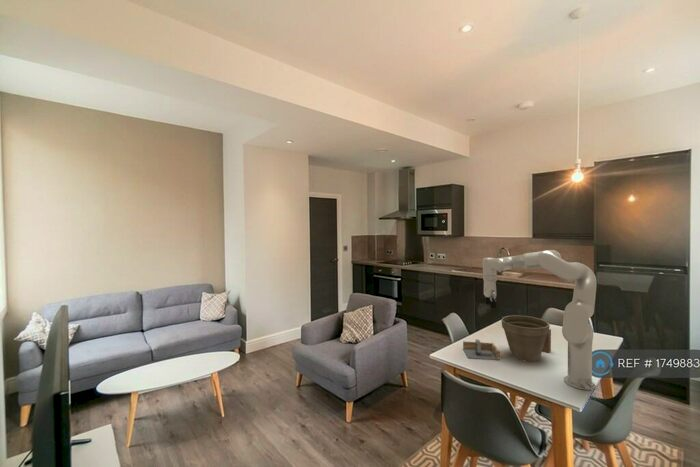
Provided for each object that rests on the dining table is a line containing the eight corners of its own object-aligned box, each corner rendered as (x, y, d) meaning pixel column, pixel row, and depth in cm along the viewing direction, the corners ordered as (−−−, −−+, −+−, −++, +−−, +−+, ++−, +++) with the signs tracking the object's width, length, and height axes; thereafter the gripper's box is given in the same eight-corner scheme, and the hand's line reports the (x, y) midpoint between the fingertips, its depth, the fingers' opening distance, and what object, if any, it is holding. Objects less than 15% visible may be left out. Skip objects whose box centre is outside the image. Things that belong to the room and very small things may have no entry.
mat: (500, 360, 177) (500, 359, 177) (467, 358, 180) (467, 357, 180) (493, 350, 191) (493, 349, 191) (463, 349, 194) (463, 348, 194)
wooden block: (548, 353, 187) (548, 324, 186) (530, 347, 195) (530, 319, 195) (551, 351, 189) (551, 323, 188) (532, 346, 198) (532, 318, 197)
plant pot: (510, 364, 171) (510, 326, 171) (495, 347, 196) (495, 314, 195) (558, 367, 168) (558, 328, 167) (537, 349, 192) (537, 315, 192)
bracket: (477, 355, 182) (477, 342, 182) (475, 352, 187) (475, 339, 187) (491, 356, 181) (491, 343, 181) (489, 353, 186) (489, 340, 186)
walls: (500, 360, 177) (500, 351, 177) (467, 358, 180) (467, 350, 180) (493, 350, 191) (493, 342, 191) (463, 349, 194) (463, 341, 194)
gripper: (479, 276, 193) (480, 302, 193) (487, 280, 176) (488, 309, 176) (491, 275, 192) (492, 303, 192) (501, 280, 175) (502, 309, 174)
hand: (490, 306), depth 184 cm, fingers open, 9 cm apart
